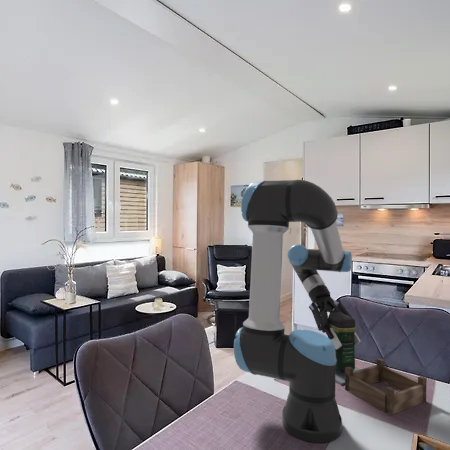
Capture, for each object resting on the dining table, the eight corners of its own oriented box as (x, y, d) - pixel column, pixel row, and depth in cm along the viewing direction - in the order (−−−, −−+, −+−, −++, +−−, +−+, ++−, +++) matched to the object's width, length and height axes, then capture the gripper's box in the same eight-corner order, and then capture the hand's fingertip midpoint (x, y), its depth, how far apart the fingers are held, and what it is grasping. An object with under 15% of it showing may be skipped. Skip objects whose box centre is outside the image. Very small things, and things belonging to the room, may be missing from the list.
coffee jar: (359, 371, 117) (359, 317, 116) (337, 373, 115) (338, 318, 115) (343, 360, 126) (344, 309, 126) (323, 361, 125) (324, 310, 124)
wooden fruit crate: (389, 415, 94) (390, 390, 94) (345, 389, 109) (345, 367, 108) (426, 401, 102) (426, 378, 101) (379, 378, 116) (380, 358, 116)
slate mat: (341, 385, 111) (341, 383, 111) (311, 368, 124) (311, 366, 124) (371, 376, 118) (371, 374, 118) (340, 361, 130) (340, 359, 130)
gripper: (332, 292, 139) (363, 345, 125) (290, 297, 129) (319, 355, 115) (342, 281, 134) (376, 335, 120) (299, 286, 124) (331, 345, 110)
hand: (348, 345), depth 117 cm, fingers closed on coffee jar, 8 cm apart
